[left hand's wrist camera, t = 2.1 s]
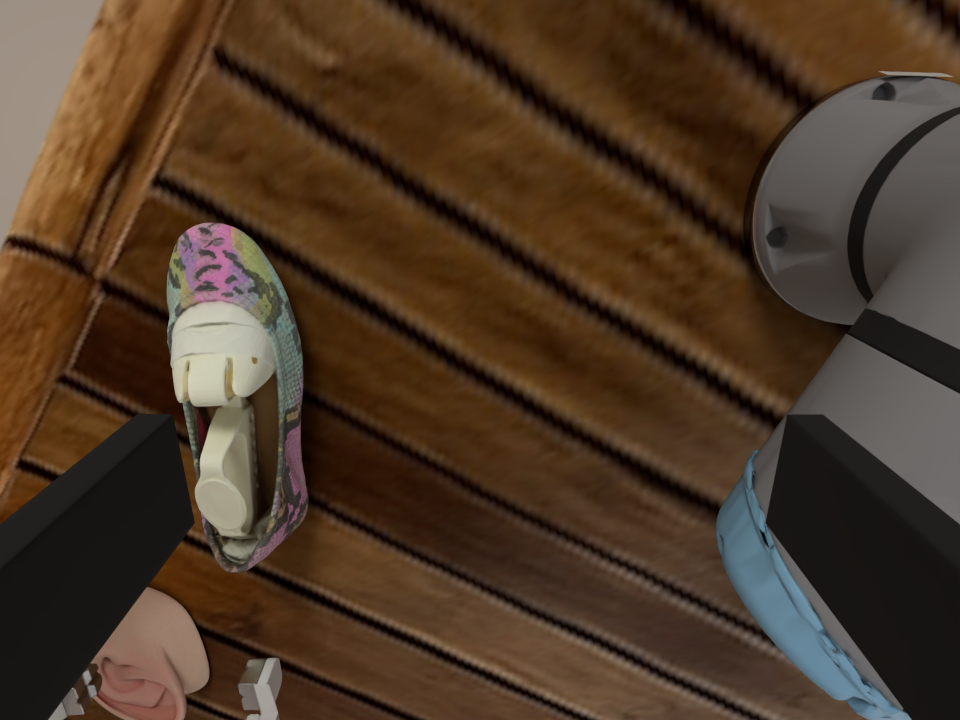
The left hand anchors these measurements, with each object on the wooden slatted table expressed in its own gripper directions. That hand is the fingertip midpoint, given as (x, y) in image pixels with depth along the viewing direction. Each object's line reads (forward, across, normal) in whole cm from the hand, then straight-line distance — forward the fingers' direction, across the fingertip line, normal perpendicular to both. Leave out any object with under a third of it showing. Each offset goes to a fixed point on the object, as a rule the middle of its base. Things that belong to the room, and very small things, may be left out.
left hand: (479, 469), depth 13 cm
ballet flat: (+29, -16, -10) cm, 35 cm away
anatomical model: (+29, -30, -34) cm, 53 cm away
